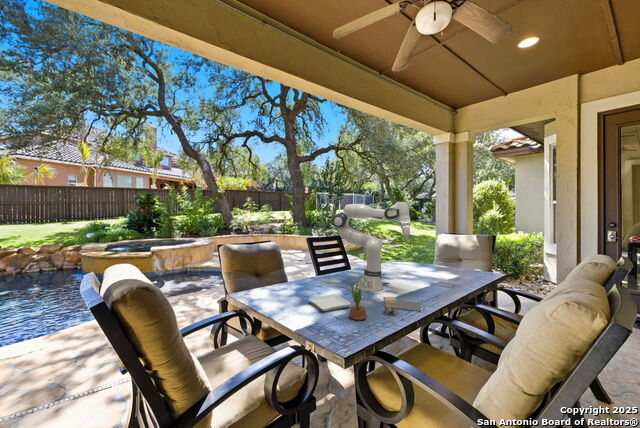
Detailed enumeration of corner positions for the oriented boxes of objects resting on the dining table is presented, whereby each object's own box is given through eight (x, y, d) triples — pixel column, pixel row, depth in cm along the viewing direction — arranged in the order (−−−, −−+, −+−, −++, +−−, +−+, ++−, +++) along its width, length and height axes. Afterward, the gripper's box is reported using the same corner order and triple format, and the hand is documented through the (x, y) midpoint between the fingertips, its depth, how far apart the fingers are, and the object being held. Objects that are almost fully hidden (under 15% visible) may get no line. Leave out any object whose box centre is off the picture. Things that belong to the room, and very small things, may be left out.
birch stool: (383, 310, 174) (383, 296, 174) (393, 310, 174) (393, 296, 174) (385, 314, 168) (386, 299, 168) (396, 314, 168) (396, 299, 168)
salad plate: (322, 314, 169) (322, 308, 169) (307, 303, 188) (307, 298, 187) (352, 308, 179) (352, 303, 178) (335, 298, 197) (335, 293, 197)
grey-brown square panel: (393, 308, 178) (394, 307, 178) (395, 300, 193) (395, 299, 193) (420, 312, 173) (420, 311, 173) (420, 303, 188) (420, 302, 188)
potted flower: (371, 316, 166) (371, 273, 165) (368, 322, 156) (369, 278, 155) (351, 313, 170) (351, 272, 169) (347, 319, 160) (347, 275, 159)
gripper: (399, 224, 220) (401, 241, 219) (401, 223, 200) (403, 242, 199) (407, 223, 219) (409, 240, 218) (410, 222, 199) (413, 241, 198)
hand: (406, 241), depth 208 cm, fingers open, 8 cm apart
